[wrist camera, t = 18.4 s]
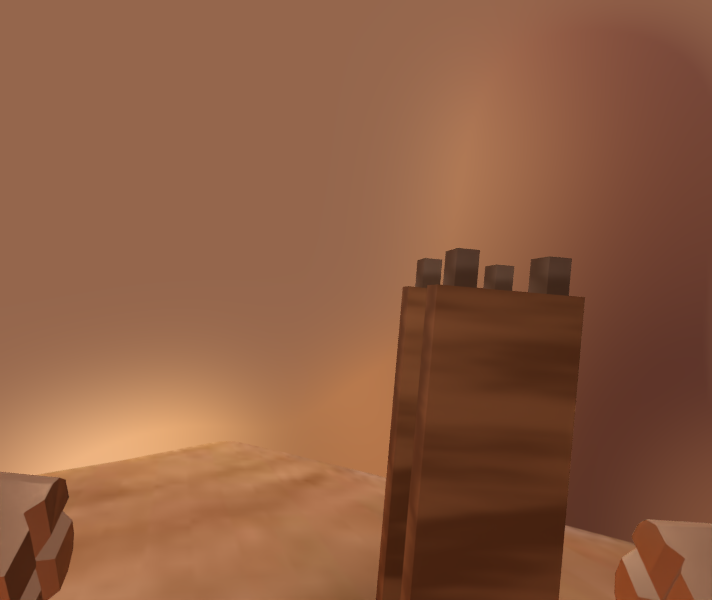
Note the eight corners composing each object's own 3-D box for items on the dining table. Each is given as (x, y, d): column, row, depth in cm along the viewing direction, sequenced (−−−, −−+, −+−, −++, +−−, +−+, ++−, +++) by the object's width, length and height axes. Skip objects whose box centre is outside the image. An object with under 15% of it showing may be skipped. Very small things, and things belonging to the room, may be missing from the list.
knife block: (562, 762, 36) (606, 261, 35) (378, 755, 35) (422, 244, 35) (495, 637, 48) (526, 270, 48) (359, 630, 48) (391, 258, 48)
